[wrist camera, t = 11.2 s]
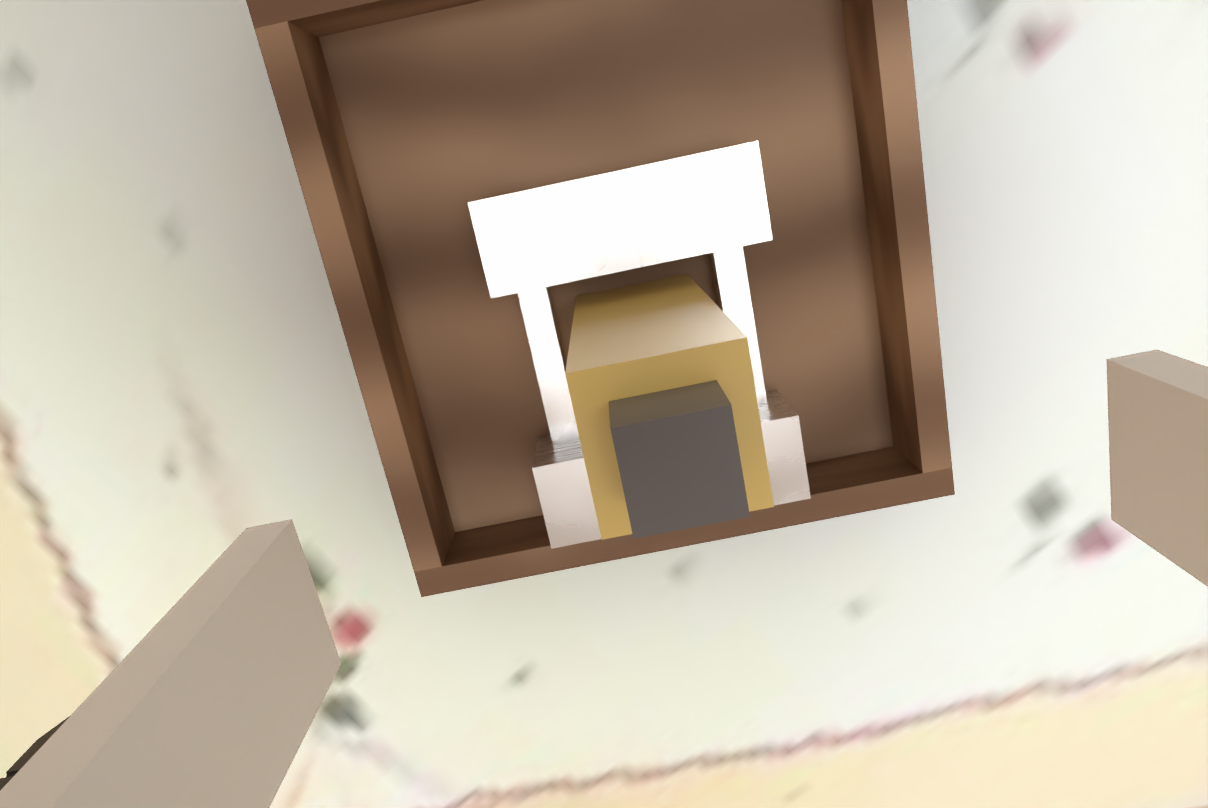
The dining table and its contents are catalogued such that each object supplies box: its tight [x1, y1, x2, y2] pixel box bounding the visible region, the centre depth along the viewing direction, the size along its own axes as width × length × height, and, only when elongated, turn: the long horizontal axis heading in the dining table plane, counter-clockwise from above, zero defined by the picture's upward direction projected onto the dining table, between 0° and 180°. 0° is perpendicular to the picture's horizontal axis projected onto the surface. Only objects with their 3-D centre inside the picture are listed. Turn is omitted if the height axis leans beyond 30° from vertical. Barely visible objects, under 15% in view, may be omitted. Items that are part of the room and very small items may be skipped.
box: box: [246, 0, 955, 597], centre depth 28 cm, size 20×19×4 cm
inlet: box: [468, 141, 811, 549], centre depth 28 cm, size 12×9×3 cm
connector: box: [565, 273, 774, 540], centre depth 23 cm, size 4×4×14 cm
